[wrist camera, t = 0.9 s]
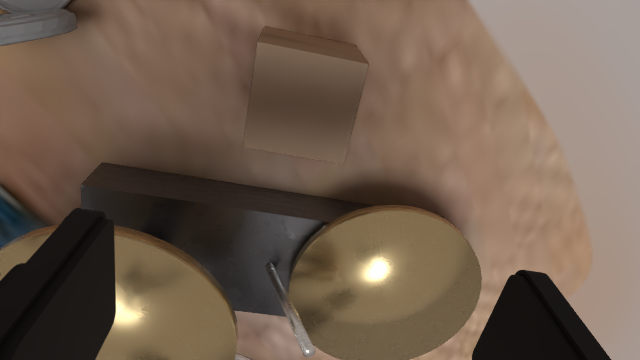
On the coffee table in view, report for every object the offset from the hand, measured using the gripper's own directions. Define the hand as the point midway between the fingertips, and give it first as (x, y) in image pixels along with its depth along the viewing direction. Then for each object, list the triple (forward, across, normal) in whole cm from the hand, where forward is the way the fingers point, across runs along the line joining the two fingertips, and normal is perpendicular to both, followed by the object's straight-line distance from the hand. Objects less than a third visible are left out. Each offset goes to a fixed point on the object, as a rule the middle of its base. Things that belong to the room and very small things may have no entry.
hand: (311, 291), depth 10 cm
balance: (+21, 0, +14) cm, 25 cm away
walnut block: (+22, 0, +1) cm, 22 cm away
